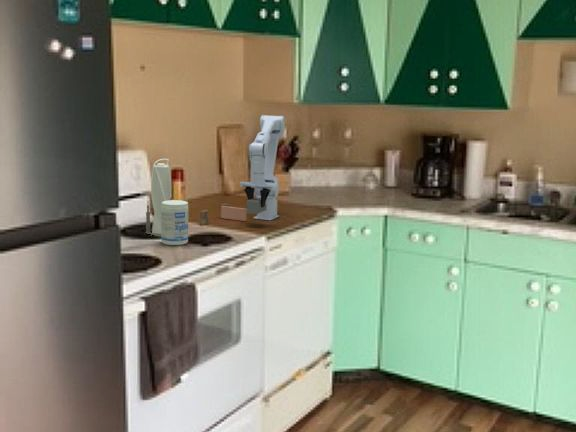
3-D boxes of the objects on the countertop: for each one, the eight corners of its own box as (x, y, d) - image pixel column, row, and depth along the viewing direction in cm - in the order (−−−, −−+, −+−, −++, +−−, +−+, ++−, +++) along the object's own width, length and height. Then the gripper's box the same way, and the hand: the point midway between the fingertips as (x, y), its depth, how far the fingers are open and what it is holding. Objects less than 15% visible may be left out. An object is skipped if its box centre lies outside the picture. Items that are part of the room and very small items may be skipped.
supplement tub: (179, 247, 230) (179, 205, 227) (155, 244, 233) (155, 203, 230) (193, 241, 239) (193, 201, 236) (170, 238, 242) (170, 198, 239)
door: (220, 218, 278) (221, 206, 277) (222, 217, 279) (222, 205, 278) (245, 221, 274) (245, 209, 273) (246, 220, 275) (246, 208, 274)
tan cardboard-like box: (224, 216, 283) (224, 203, 282) (227, 216, 283) (227, 203, 282) (199, 225, 265) (200, 211, 264) (203, 225, 264) (203, 212, 263)
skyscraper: (159, 230, 254) (158, 157, 248) (176, 232, 251) (176, 159, 245) (144, 234, 247) (143, 159, 241) (162, 237, 243) (161, 161, 237)
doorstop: (256, 208, 271) (256, 196, 270) (266, 209, 269) (266, 197, 268) (246, 212, 263) (246, 200, 262) (257, 214, 261) (257, 201, 260)
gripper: (236, 172, 262) (236, 206, 265) (270, 175, 256) (269, 209, 259) (244, 170, 268) (244, 203, 271) (277, 173, 263) (276, 206, 266)
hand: (256, 206), depth 266 cm, fingers closed on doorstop, 4 cm apart
